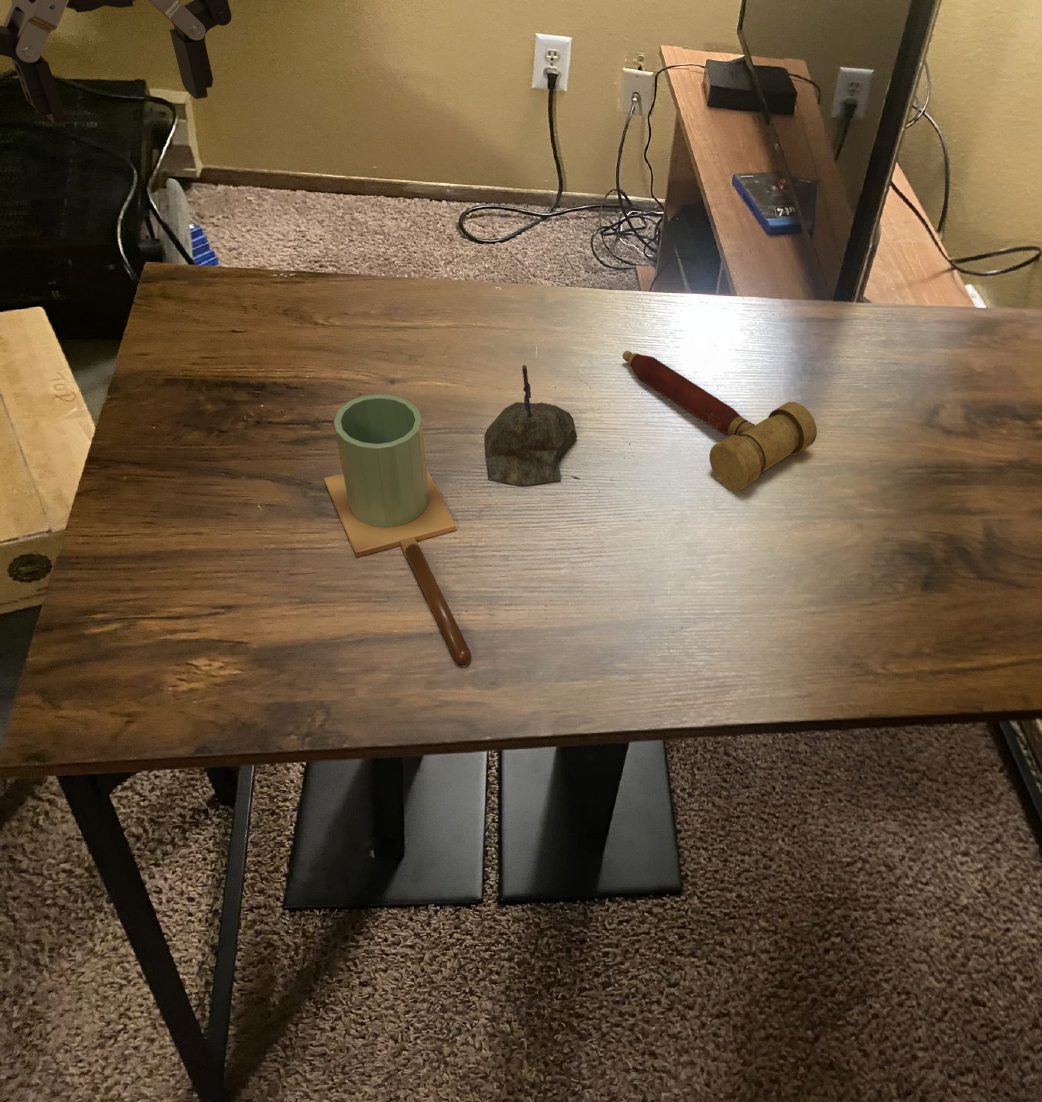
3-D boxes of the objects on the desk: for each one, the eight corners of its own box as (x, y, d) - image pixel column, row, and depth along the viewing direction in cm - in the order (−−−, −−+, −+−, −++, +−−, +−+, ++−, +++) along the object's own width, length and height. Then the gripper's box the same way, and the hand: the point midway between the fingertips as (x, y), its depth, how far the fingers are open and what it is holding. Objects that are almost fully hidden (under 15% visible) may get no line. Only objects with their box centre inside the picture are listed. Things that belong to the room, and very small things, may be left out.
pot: (339, 523, 78) (324, 442, 72) (359, 470, 83) (346, 389, 76) (419, 531, 79) (411, 452, 73) (435, 478, 83) (428, 399, 77)
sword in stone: (498, 405, 92) (495, 294, 83) (582, 420, 92) (589, 310, 84) (469, 478, 85) (463, 364, 76) (561, 493, 85) (566, 382, 77)
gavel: (586, 351, 94) (661, 317, 100) (586, 391, 97) (659, 355, 103) (748, 460, 85) (821, 415, 91) (742, 500, 88) (813, 454, 94)
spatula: (324, 482, 82) (322, 472, 81) (420, 460, 85) (419, 449, 84) (410, 685, 70) (409, 675, 69) (518, 649, 74) (518, 639, 73)
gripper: (151, -224, 57) (213, 65, 69) (-148, -227, 49) (-20, 100, 61) (210, -186, 54) (265, 110, 66) (-99, -182, 46) (26, 153, 58)
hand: (128, 105), depth 63 cm, fingers open, 8 cm apart
